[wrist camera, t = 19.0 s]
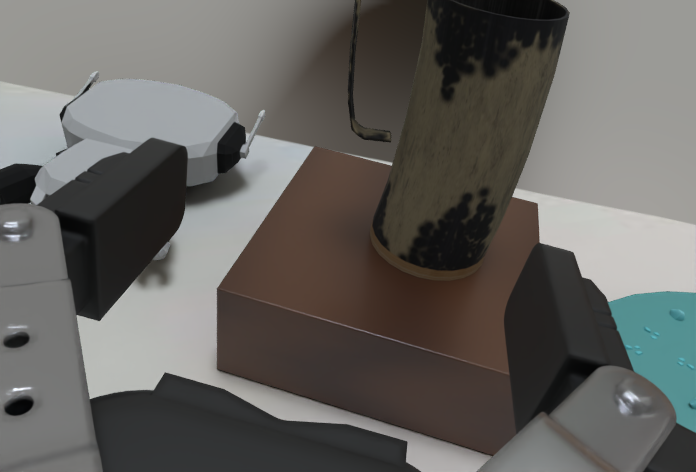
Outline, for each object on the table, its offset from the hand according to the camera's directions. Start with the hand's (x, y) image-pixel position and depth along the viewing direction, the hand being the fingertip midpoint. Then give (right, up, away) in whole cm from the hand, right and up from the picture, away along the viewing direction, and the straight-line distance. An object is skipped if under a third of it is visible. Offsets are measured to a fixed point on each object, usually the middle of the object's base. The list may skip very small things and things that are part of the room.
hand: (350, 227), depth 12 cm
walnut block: (+2, -4, +16) cm, 17 cm away
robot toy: (-13, +2, +22) cm, 26 cm away
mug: (+3, 0, +14) cm, 14 cm away
